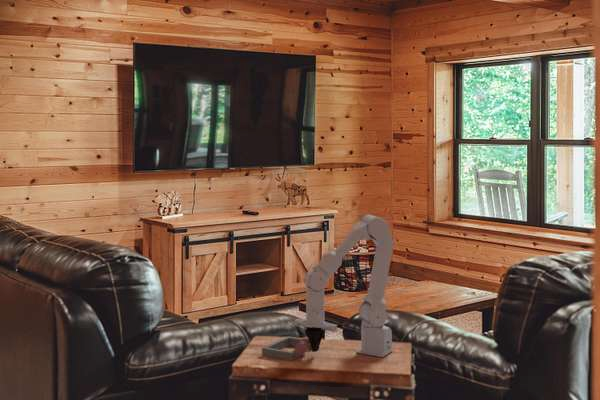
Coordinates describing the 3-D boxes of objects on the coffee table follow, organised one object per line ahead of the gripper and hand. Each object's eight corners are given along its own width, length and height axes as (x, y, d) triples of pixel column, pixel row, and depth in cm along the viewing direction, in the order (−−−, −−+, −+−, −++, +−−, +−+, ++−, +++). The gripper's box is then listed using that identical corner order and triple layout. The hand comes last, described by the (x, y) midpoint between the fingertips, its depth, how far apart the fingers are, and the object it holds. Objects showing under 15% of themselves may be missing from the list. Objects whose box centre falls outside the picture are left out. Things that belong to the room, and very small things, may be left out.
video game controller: (301, 364, 231) (311, 345, 230) (288, 357, 232) (298, 338, 231) (305, 355, 241) (315, 336, 240) (293, 348, 242) (302, 330, 240)
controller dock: (317, 348, 243) (317, 341, 243) (291, 361, 230) (291, 353, 230) (288, 343, 249) (288, 336, 249) (262, 355, 236) (262, 347, 236)
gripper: (288, 308, 233) (289, 350, 235) (329, 314, 226) (329, 357, 227) (300, 303, 239) (300, 345, 241) (340, 309, 232) (340, 351, 233)
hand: (315, 350), depth 234 cm, fingers closed
